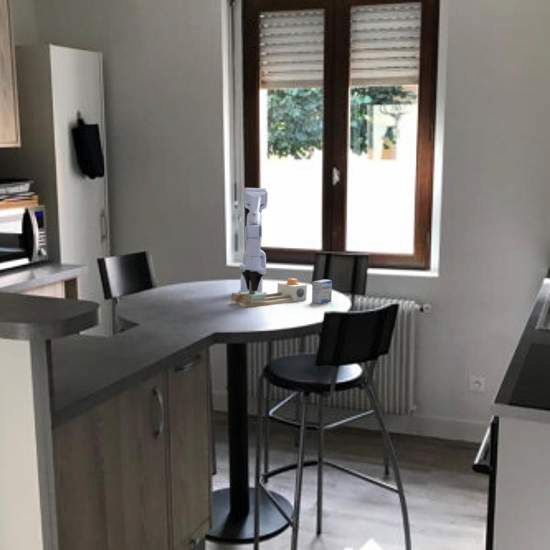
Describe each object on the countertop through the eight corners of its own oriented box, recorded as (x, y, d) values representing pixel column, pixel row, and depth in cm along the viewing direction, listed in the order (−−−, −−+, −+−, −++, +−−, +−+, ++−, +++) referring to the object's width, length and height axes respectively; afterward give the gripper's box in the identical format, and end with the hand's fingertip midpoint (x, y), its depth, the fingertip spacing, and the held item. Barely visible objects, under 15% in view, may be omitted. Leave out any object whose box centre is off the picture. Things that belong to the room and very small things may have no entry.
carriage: (238, 296, 292) (239, 280, 291) (252, 294, 297) (253, 278, 295) (251, 300, 286) (251, 283, 285) (265, 298, 290) (265, 281, 289)
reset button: (285, 292, 304) (285, 278, 304) (292, 291, 307) (292, 277, 306) (291, 294, 301) (291, 280, 300) (298, 293, 304) (299, 279, 303)
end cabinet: (277, 297, 306) (277, 282, 305) (290, 295, 311) (290, 281, 310) (293, 301, 298) (294, 286, 297) (306, 299, 303) (307, 285, 302)
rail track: (231, 303, 292) (232, 293, 291) (277, 297, 306) (277, 287, 306) (247, 307, 284) (247, 297, 283) (293, 301, 299) (293, 291, 298)
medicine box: (320, 304, 294) (321, 282, 293) (311, 302, 297) (312, 281, 296) (331, 301, 301) (332, 280, 299) (322, 299, 303) (323, 278, 302)
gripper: (233, 254, 292) (233, 288, 294) (256, 258, 281) (255, 294, 283) (247, 252, 296) (247, 286, 298) (270, 257, 285) (270, 292, 287)
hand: (252, 290), depth 291 cm, fingers closed on carriage, 2 cm apart
